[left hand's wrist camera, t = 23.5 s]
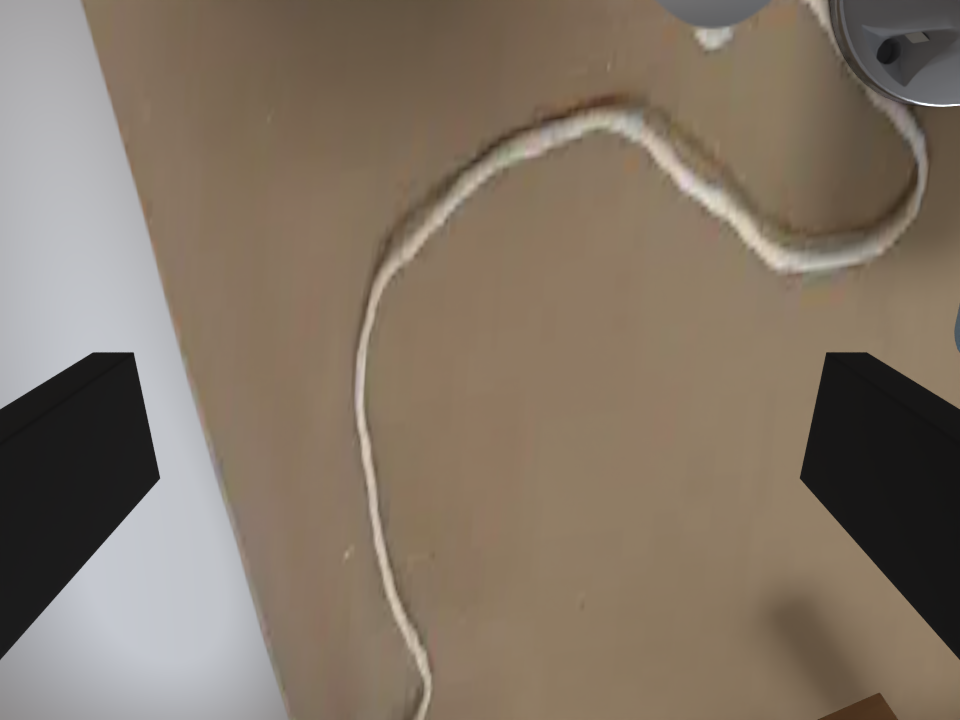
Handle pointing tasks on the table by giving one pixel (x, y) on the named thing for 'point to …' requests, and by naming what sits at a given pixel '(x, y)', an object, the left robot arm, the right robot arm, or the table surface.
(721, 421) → the table surface
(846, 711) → the bar
